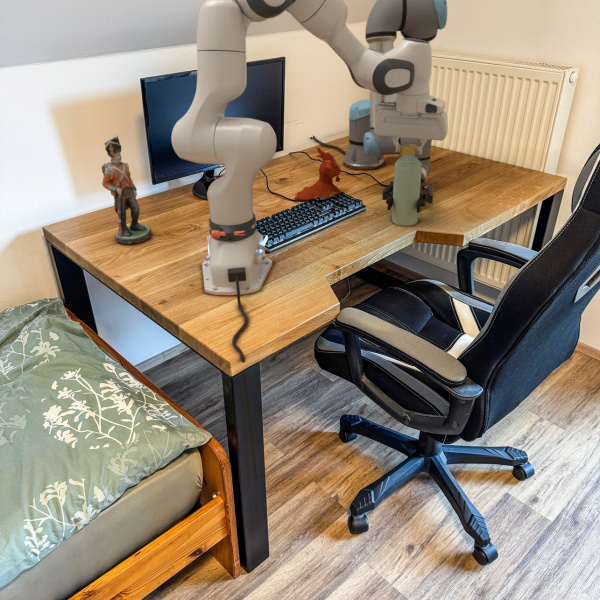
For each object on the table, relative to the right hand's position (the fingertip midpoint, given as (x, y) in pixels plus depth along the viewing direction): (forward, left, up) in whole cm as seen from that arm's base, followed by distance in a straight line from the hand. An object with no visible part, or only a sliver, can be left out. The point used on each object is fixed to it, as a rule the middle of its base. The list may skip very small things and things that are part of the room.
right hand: (403, 207), depth 164 cm
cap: (-5, +2, +16) cm, 17 cm away
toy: (-31, -20, -6) cm, 38 cm away
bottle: (-4, +2, -6) cm, 8 cm away
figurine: (-10, -80, -6) cm, 81 cm away
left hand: (-4, +2, +15) cm, 15 cm away
